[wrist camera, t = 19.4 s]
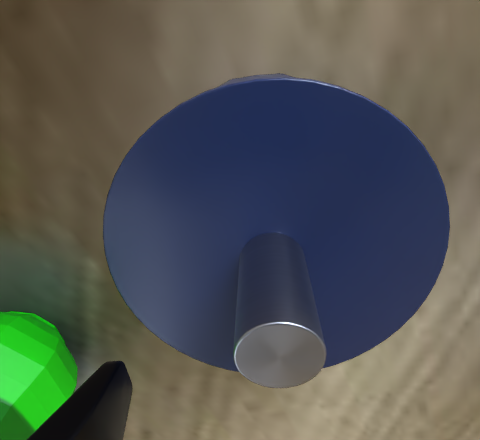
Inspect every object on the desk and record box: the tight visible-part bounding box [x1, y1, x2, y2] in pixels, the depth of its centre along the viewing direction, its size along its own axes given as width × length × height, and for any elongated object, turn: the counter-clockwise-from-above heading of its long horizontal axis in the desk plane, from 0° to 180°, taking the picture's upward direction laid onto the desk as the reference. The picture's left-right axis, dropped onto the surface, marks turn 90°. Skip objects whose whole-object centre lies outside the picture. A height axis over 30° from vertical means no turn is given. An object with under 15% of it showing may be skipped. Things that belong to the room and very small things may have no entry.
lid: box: [103, 77, 450, 388], centre depth 11 cm, size 13×13×6 cm
